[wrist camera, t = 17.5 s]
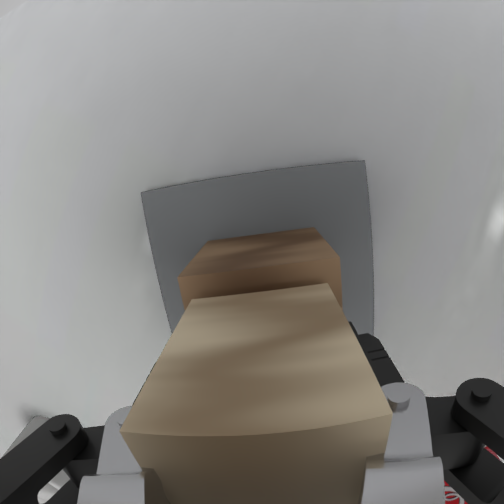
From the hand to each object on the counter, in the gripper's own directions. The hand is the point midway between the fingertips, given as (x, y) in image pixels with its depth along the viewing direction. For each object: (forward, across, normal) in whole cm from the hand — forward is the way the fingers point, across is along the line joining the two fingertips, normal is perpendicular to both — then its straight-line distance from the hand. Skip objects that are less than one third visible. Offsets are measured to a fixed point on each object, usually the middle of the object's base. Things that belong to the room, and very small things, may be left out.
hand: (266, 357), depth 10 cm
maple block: (0, 0, 0) cm, 0 cm away
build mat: (+8, 0, 0) cm, 8 cm away
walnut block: (+7, 0, 0) cm, 7 cm away
